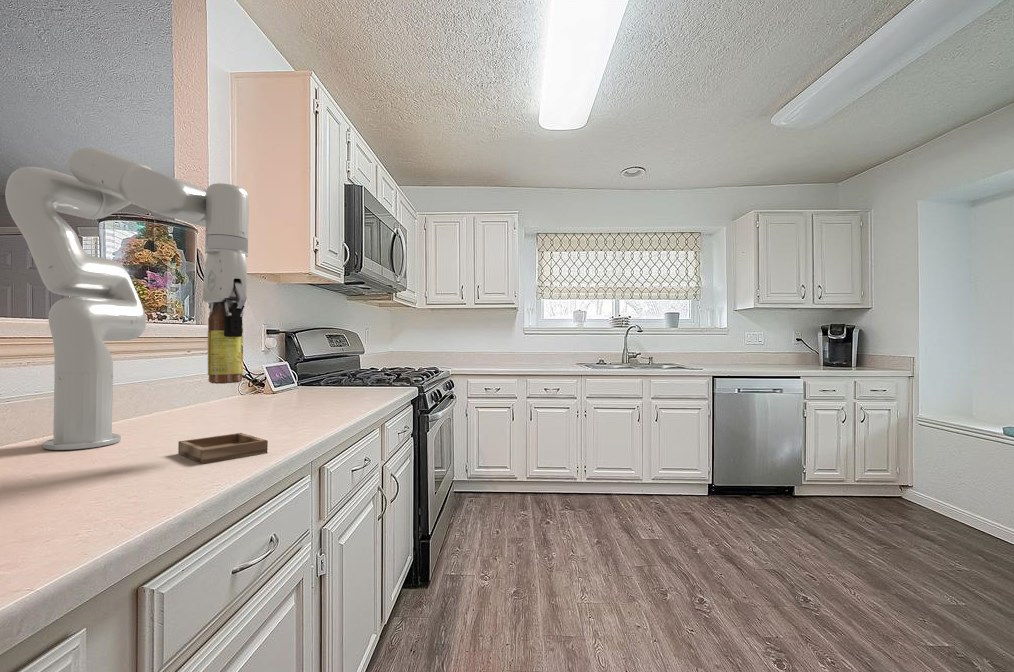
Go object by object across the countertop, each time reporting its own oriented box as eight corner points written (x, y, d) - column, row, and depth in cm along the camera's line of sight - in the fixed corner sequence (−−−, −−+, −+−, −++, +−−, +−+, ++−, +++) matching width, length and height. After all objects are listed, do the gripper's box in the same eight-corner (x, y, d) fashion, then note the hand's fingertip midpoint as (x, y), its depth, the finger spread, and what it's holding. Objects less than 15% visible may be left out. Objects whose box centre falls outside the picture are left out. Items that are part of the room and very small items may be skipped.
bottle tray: (178, 453, 98) (178, 441, 98) (240, 444, 108) (241, 432, 108) (202, 464, 91) (202, 450, 91) (267, 452, 100) (267, 440, 100)
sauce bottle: (249, 382, 100) (251, 285, 100) (217, 385, 95) (219, 282, 95) (231, 380, 104) (233, 286, 104) (200, 382, 99) (202, 283, 98)
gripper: (189, 249, 102) (188, 336, 102) (225, 239, 91) (224, 336, 91) (228, 254, 108) (226, 336, 108) (266, 246, 97) (264, 337, 97)
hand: (225, 335), depth 100 cm, fingers closed on sauce bottle, 6 cm apart
